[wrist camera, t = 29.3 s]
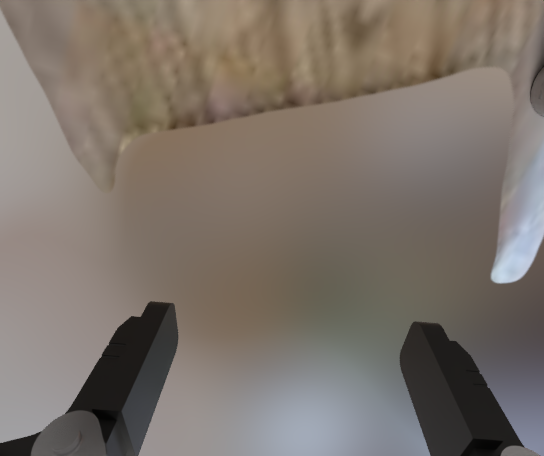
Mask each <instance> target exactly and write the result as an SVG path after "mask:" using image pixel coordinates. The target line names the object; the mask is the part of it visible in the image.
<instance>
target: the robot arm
mask: <svg viewBox="0 0 544 456" xmlns="http://www.w3.org/2000/svg"><path fill="white" fill-rule="evenodd" d="M531 103H532V106H533V108H534V110H535V111H536V112H537V113H538V114H540V115H541V116H543V117H544V67H543V68H542V69H541V71H540V72H539V73H538V75H537V77H536V79H535V81H534V83H533V86H532V90H531ZM177 344H178V329H177V320H176V312H175V306H174V304H173V303H163V302H152V301H151V302H149V303H148V305H147V306H146V308H145V310H144V312H143V314H142V316H141V317H134V316H131V317H130V318H129V319H128V320H127V321H125V322H124V323H123V324H122V325H121V326H120V327H118V329H117V330H116V332H115V333H114V335H113V337H112V339H111V340H110V342H109V345H108V346H107V347H106V349H105V350H104V352H103V354H102V357H101V358H100V359H99V361H98V362H97V364H96V365H95V367H94V369H93V370H92V372H91V374H90V375H89V377H88V379H87V380H86V382H85V384H84V385H83V387H82V389H81V391H80V392H79V394H78V395H77V397H76V399H75V401H74V402H73V404H72V405H71V407H70V408H69V410H68V411H67V412H66V413H65V414H64V415H62V416H60V417H58V418H57V419H55V420H54V421H52V422H51V423H50V424H49V425H48V426H47V427H46V428H45V429H44V430H43V431H41V432H39V433H36V434H34V435H31V436H28V437H24V438H20V439H16V440H11V441H7V442H4V443H0V456H138V455H139V452H140V449H141V446H142V444H143V441H144V438H145V435H146V433H147V430H148V427H149V424H150V422H151V419H152V416H153V413H154V411H155V408H156V405H157V402H158V400H159V397H160V394H161V391H162V389H163V386H164V383H165V380H166V378H167V375H168V372H169V369H170V367H171V364H172V361H173V358H174V355H175V353H176V349H177ZM400 367H401V371H402V373H403V377H404V379H405V382H406V385H407V388H408V391H409V394H410V397H411V400H412V403H413V406H414V409H415V411H416V414H417V417H418V420H419V423H420V426H421V428H422V432H423V434H424V437H425V440H426V443H427V446H428V449H429V452H430V455H431V456H540V455H538V454H537V453H535V452H533V451H532V450H529V449H527V448H525V447H524V446H523V445H522V443H521V441H520V440H519V438H518V436H517V435H516V433H515V431H514V430H513V428H512V426H511V424H510V423H509V421H508V419H507V417H506V416H505V414H504V412H503V411H502V409H501V407H500V406H499V404H498V402H497V400H496V399H495V397H494V395H493V394H492V392H491V390H490V388H488V387H487V383H486V382H485V380H484V378H483V376H482V375H481V374H480V373H479V370H478V368H477V366H476V364H475V363H474V361H473V359H472V357H471V356H470V355H469V354H468V353H467V352H466V351H465V350H464V349H463V348H462V347H461V346H460V345H459V344H458V343H457V342H456V341H449V339H448V337H447V335H446V333H445V332H444V329H443V328H442V326H441V325H440V324H438V323H427V322H413V323H412V325H411V327H410V329H409V332H408V334H407V337H406V339H405V342H404V344H403V347H402V349H401V352H400Z"/></svg>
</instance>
